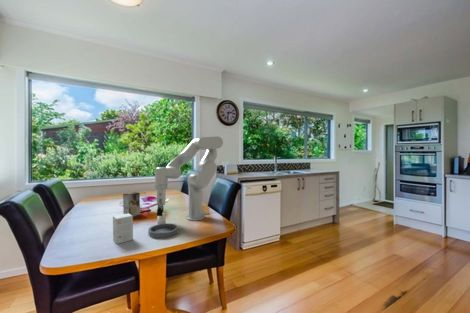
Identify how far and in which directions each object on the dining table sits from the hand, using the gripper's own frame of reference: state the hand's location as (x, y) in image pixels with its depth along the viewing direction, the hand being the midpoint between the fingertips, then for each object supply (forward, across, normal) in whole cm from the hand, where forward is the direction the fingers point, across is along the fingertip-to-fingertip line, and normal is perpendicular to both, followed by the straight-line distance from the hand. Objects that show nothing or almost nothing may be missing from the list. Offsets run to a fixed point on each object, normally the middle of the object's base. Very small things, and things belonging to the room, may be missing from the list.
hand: (160, 213), depth 143 cm
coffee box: (+8, +25, +21) cm, 34 cm away
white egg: (+7, 0, -1) cm, 7 cm away
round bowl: (+7, -15, -3) cm, 17 cm away
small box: (+8, -21, +17) cm, 28 cm away
